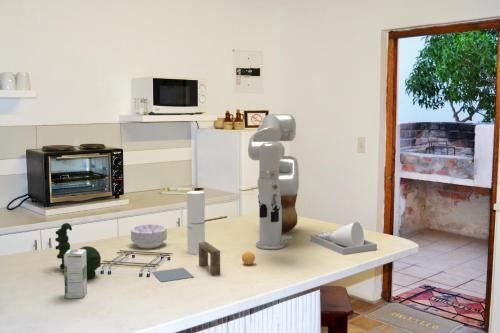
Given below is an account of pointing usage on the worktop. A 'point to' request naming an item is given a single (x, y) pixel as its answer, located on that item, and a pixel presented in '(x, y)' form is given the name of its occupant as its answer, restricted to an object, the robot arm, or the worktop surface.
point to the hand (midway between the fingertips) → (268, 219)
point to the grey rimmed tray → (348, 250)
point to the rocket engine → (346, 235)
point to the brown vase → (288, 212)
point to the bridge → (214, 257)
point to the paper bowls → (148, 235)
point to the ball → (248, 257)
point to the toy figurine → (91, 253)
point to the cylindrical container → (195, 220)
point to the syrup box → (75, 273)
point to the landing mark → (172, 274)
